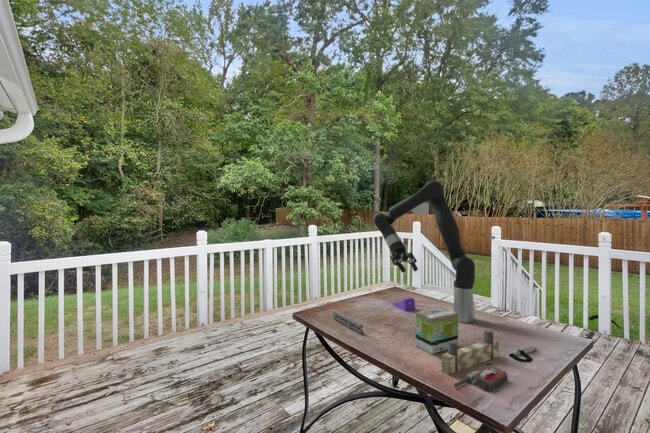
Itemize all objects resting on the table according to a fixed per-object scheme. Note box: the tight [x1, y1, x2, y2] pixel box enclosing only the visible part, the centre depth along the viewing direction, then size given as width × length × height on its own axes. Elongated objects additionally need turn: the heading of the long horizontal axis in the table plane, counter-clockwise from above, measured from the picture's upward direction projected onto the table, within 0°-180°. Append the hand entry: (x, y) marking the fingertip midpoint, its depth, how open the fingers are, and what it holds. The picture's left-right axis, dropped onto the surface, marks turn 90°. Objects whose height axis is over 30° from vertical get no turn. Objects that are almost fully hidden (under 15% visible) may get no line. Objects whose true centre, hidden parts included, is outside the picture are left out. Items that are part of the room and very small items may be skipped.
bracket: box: [392, 297, 416, 312], centre depth 190 cm, size 12×7×7 cm, turn 21°
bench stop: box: [441, 329, 500, 375], centre depth 122 cm, size 28×3×10 cm, turn 118°
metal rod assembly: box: [332, 309, 364, 335], centre depth 163 cm, size 26×3×5 cm, turn 29°
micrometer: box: [509, 346, 537, 363], centre depth 127 cm, size 15×7×3 cm, turn 113°
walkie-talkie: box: [453, 366, 508, 392], centre depth 108 cm, size 9×4×20 cm
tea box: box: [415, 306, 459, 355], centre depth 137 cm, size 15×10×15 cm, turn 117°
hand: (410, 271), depth 159 cm, fingers open, 8 cm apart
